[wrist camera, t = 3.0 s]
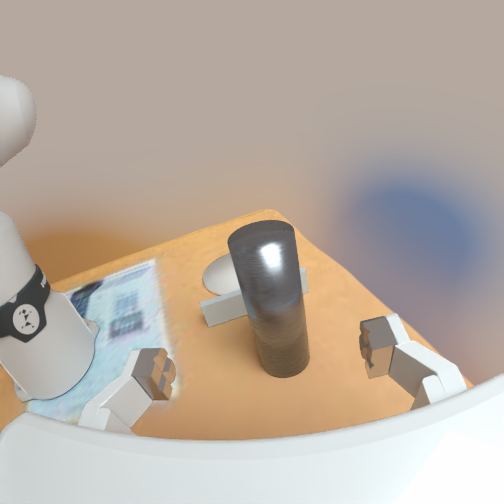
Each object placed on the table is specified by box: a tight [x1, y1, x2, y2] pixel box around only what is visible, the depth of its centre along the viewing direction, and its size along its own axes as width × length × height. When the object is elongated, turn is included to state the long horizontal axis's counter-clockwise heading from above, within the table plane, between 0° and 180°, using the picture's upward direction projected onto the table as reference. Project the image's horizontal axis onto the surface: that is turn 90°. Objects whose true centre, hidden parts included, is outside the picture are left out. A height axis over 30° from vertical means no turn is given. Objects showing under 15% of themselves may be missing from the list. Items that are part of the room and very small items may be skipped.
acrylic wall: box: [200, 267, 309, 327], centre depth 37 cm, size 14×1×4 cm, turn 107°
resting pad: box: [203, 253, 240, 296], centre depth 46 cm, size 12×12×1 cm
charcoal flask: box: [228, 220, 310, 378], centre depth 26 cm, size 5×5×15 cm
